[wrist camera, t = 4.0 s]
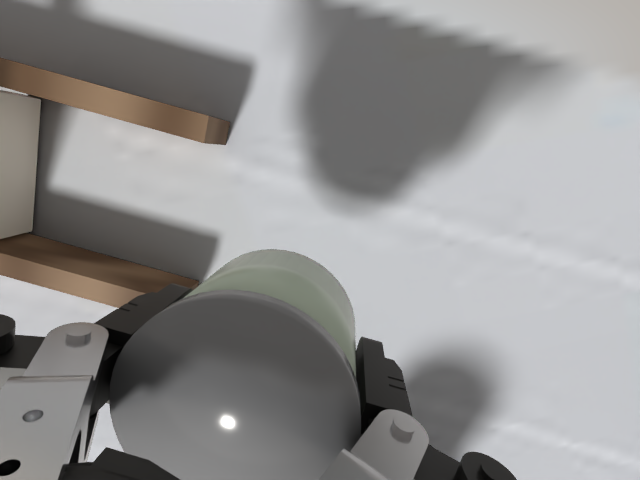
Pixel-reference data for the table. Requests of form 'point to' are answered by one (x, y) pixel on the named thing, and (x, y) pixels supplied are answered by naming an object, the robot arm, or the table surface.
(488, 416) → the table surface
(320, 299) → the jar
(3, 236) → the pusher plate
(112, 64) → the table surface
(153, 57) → the table surface
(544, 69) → the table surface
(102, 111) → the lane
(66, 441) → the robot arm
